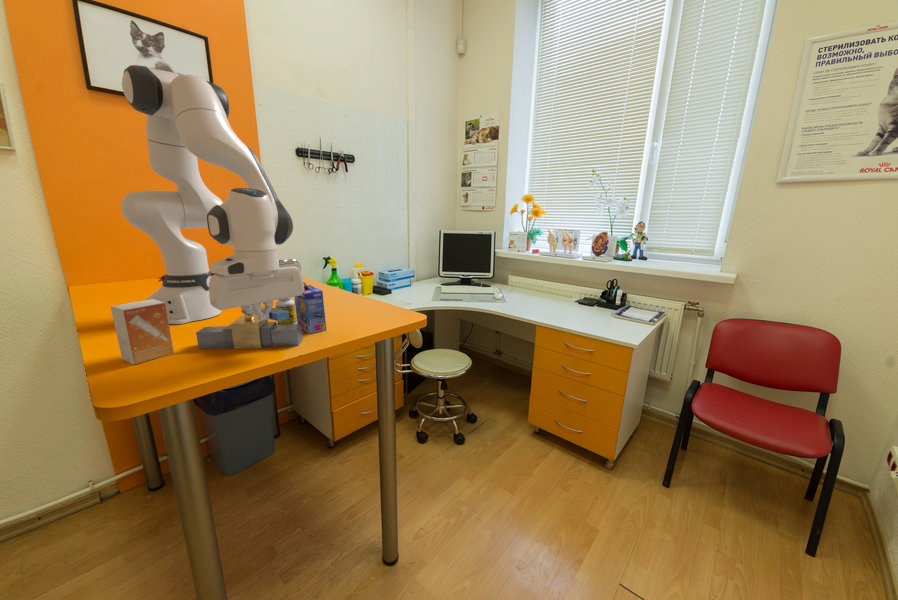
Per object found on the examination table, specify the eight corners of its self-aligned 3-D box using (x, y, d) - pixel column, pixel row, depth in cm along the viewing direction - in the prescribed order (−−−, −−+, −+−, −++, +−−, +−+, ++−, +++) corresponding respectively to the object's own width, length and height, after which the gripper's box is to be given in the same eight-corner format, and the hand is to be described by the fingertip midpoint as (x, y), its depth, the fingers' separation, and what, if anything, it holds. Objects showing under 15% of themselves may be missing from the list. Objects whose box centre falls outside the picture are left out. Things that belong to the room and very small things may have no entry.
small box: (134, 365, 79) (122, 310, 76) (121, 359, 82) (109, 305, 79) (175, 353, 86) (165, 301, 83) (162, 348, 89) (152, 298, 86)
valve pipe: (196, 350, 88) (190, 317, 86) (209, 341, 94) (204, 310, 92) (297, 347, 91) (294, 315, 89) (303, 338, 97) (301, 308, 95)
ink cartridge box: (295, 325, 108) (291, 279, 104) (313, 322, 111) (310, 277, 108) (308, 334, 101) (304, 284, 97) (327, 330, 104) (323, 282, 101)
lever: (238, 312, 90) (237, 305, 89) (250, 309, 93) (249, 302, 92) (277, 321, 84) (277, 313, 83) (289, 317, 86) (288, 310, 86)
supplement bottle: (294, 320, 112) (292, 291, 110) (298, 325, 108) (295, 295, 106) (276, 323, 109) (273, 293, 107) (279, 328, 105) (275, 297, 103)
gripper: (293, 256, 91) (298, 308, 94) (201, 265, 75) (211, 327, 78) (306, 259, 87) (311, 313, 90) (213, 268, 71) (222, 333, 75)
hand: (264, 319), depth 84 cm, fingers closed
